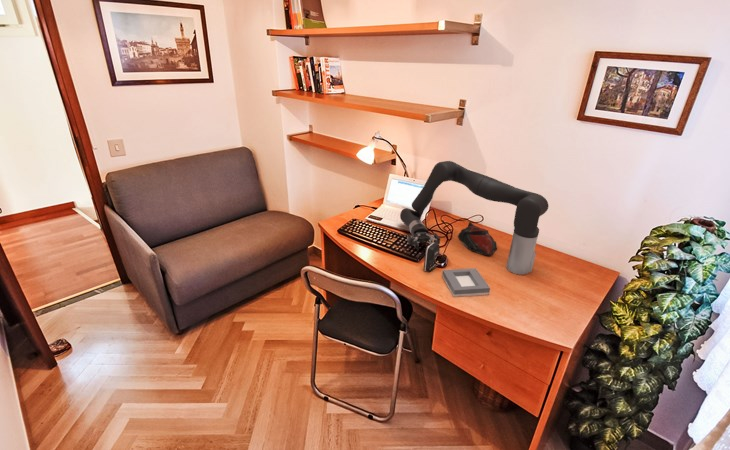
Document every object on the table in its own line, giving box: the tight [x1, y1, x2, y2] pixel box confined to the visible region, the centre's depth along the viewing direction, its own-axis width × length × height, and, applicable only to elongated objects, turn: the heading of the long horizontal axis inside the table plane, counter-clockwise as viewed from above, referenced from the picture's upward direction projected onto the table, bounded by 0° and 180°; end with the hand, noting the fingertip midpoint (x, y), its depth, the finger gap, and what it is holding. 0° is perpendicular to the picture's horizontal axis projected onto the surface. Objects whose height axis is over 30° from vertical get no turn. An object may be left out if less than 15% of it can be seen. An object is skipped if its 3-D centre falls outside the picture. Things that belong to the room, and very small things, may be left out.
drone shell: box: [457, 221, 498, 256], centre depth 175 cm, size 21×20×8 cm
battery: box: [423, 243, 441, 273], centre depth 153 cm, size 7×4×11 cm, turn 142°
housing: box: [441, 267, 491, 298], centre depth 144 cm, size 14×14×3 cm
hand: (427, 246), depth 159 cm, fingers open, 8 cm apart
